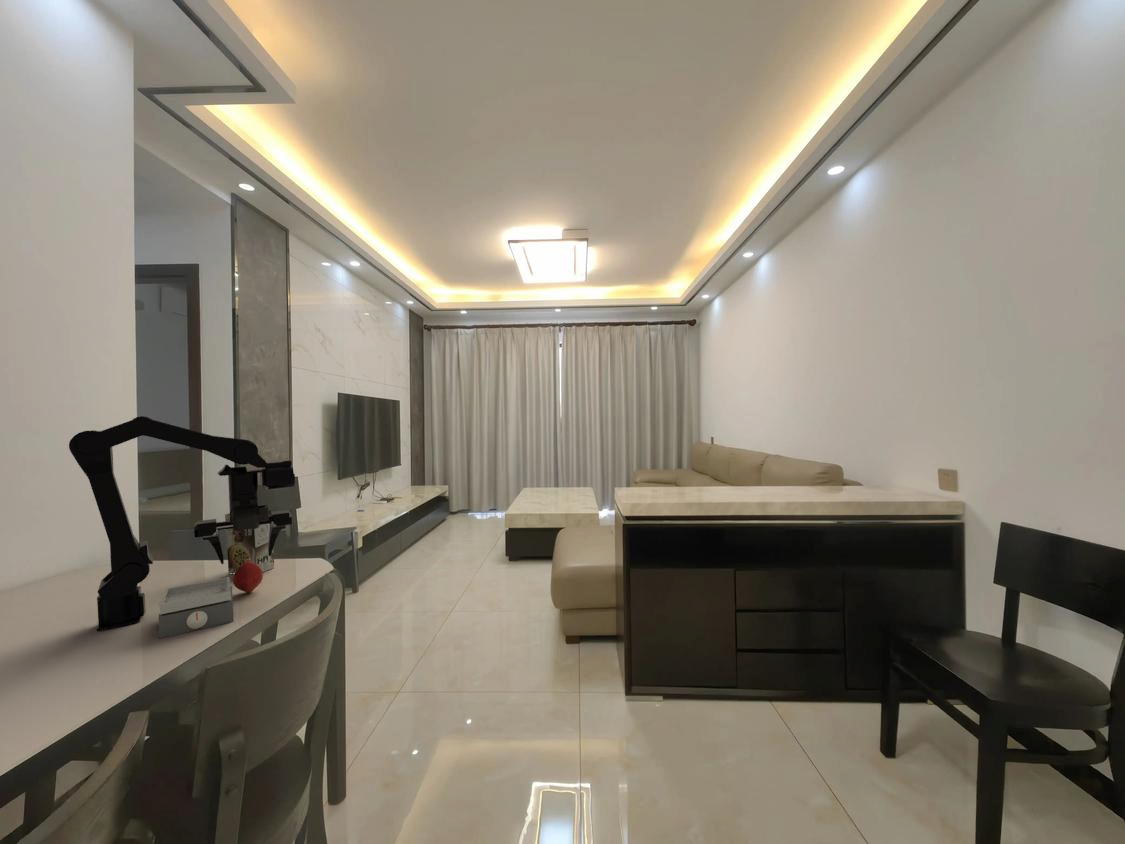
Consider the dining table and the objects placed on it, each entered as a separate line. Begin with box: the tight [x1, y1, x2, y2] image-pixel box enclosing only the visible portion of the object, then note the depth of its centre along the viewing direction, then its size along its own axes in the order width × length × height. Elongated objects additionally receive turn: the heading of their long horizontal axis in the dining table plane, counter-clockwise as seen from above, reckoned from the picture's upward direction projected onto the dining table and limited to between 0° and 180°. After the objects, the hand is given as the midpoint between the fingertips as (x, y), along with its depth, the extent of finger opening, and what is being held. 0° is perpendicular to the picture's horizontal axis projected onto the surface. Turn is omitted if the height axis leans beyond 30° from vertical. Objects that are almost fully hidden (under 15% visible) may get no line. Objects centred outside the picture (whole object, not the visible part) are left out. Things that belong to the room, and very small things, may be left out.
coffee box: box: [224, 508, 275, 574], centre depth 129 cm, size 9×6×16 cm
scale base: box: [157, 585, 235, 639], centre depth 98 cm, size 12×12×4 cm
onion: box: [232, 559, 264, 594], centre depth 113 cm, size 6×6×8 cm
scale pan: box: [159, 576, 231, 615], centre depth 98 cm, size 11×11×2 cm
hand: (246, 559), depth 112 cm, fingers open, 9 cm apart
